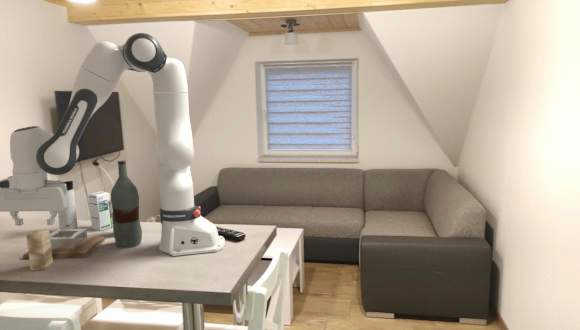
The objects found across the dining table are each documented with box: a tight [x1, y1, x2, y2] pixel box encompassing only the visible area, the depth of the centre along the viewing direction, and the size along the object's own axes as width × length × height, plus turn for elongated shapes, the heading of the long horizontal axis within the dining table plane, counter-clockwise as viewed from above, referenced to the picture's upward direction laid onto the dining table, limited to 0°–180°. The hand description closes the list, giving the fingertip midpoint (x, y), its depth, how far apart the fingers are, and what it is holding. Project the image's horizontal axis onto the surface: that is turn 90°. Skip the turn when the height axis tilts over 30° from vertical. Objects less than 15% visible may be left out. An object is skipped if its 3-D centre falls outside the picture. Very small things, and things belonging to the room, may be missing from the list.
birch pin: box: [25, 230, 54, 271], centre depth 132 cm, size 4×4×11 cm
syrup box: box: [87, 190, 113, 232], centre depth 169 cm, size 6×6×14 cm
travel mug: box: [57, 180, 79, 230], centre depth 166 cm, size 6×7×20 cm
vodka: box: [110, 160, 143, 249], centre depth 149 cm, size 9×9×30 cm
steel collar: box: [49, 228, 89, 251], centre depth 147 cm, size 10×10×4 cm
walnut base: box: [22, 235, 105, 260], centre depth 148 cm, size 20×16×2 cm
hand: (35, 224), depth 130 cm, fingers open, 8 cm apart
